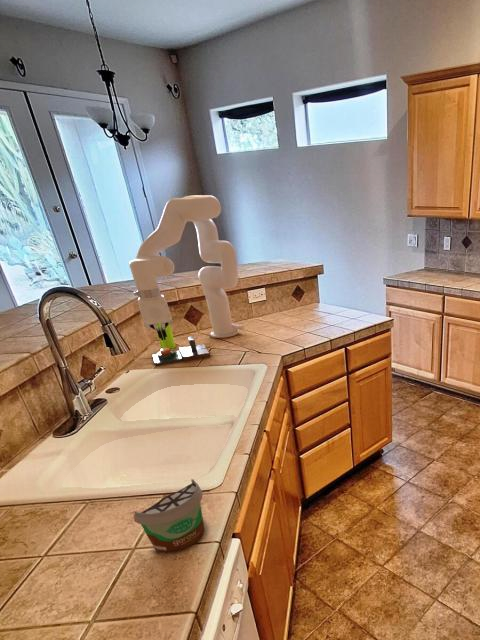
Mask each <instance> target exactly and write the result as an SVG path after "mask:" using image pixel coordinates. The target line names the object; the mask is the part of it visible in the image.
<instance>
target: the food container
mask: <svg viewBox="0 0 480 640" xmlns="http://www.w3.org/2000/svg"><path fill="white" fill-rule="evenodd" d="M190 481H191V483H190V484H188V485H187V486H185V487H183V488H181V489H180V490H177V491H174V492H173V493H170V494H168V495H165V496H164V497H163V498H162V499H160V500H158V501H157V502H155V503H154V504H152V505H151V506H150V507H148V508H146V509H145V510H142V511H141V512H138V511H136V510H133V512H134V514H133V521H134V523H136V524H138V525H140V526H141V527H142V529H143V530H144V533H145V534H146V536H147V538H148V540H149V542H150V543H151V545H152V546H153V549H154V550H155V551H156V552H158V553H163V554H173V553H178V552H181V551H184V550H187V549H189V548H191V547H193V546H194V545H195V544H197V543H198V542H199V541H200V540H201V539H202V538H203V536H204V534H205V523H204V517H203V511H202V506H201V505H202V504H201V503H202V500H203V496H204V495H203V490H202V488H201V487H200V485H199V483H198V482H196V481H195V480H194V479H193V478H191V480H190Z"/></svg>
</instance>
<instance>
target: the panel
mask: <svg viewBox="0 0 480 640" xmlns="http://www.w3.org/2000/svg"><path fill="white" fill-rule="evenodd" d="M196 348H197V351H196V352H192V351H191V349H190V345H189V346H183V347H179V348H178V351H179V353H180V355H181V357H182V360H183V362H191V361H196V360H202V359H207V358H208V359H209V358H211V354H210V352H209V350H208V348H207V347H206V345H205V344H197V345H196Z"/></svg>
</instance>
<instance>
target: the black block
mask: <svg viewBox="0 0 480 640" xmlns="http://www.w3.org/2000/svg"><path fill="white" fill-rule="evenodd" d="M187 342H188V345H189V346H190V349H191V351H192V352H196V351H197V348H196V341H195V339H194V337H193V336H188V337H187Z"/></svg>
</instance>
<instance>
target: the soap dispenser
mask: <svg viewBox="0 0 480 640" xmlns="http://www.w3.org/2000/svg"><path fill="white" fill-rule="evenodd" d="M157 326H158V328H159V329H160V330H161V323H159V324H157ZM165 331H166V335H167V337H165V338H166V340H161V338H159V337H158V333H157V332H156V335H157V338H158V342H159V346H160V349H163V348H170V350H172V349H174V348H176V347H177V346H176V342H175V341H176V340H175V338H174V335H173V334H174V333H173V330H172V326H171V324H169V325H168V326H167V327H166V329H165ZM161 333H162V332H161ZM162 336H163V335H162ZM163 339H164V338H163Z"/></svg>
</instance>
